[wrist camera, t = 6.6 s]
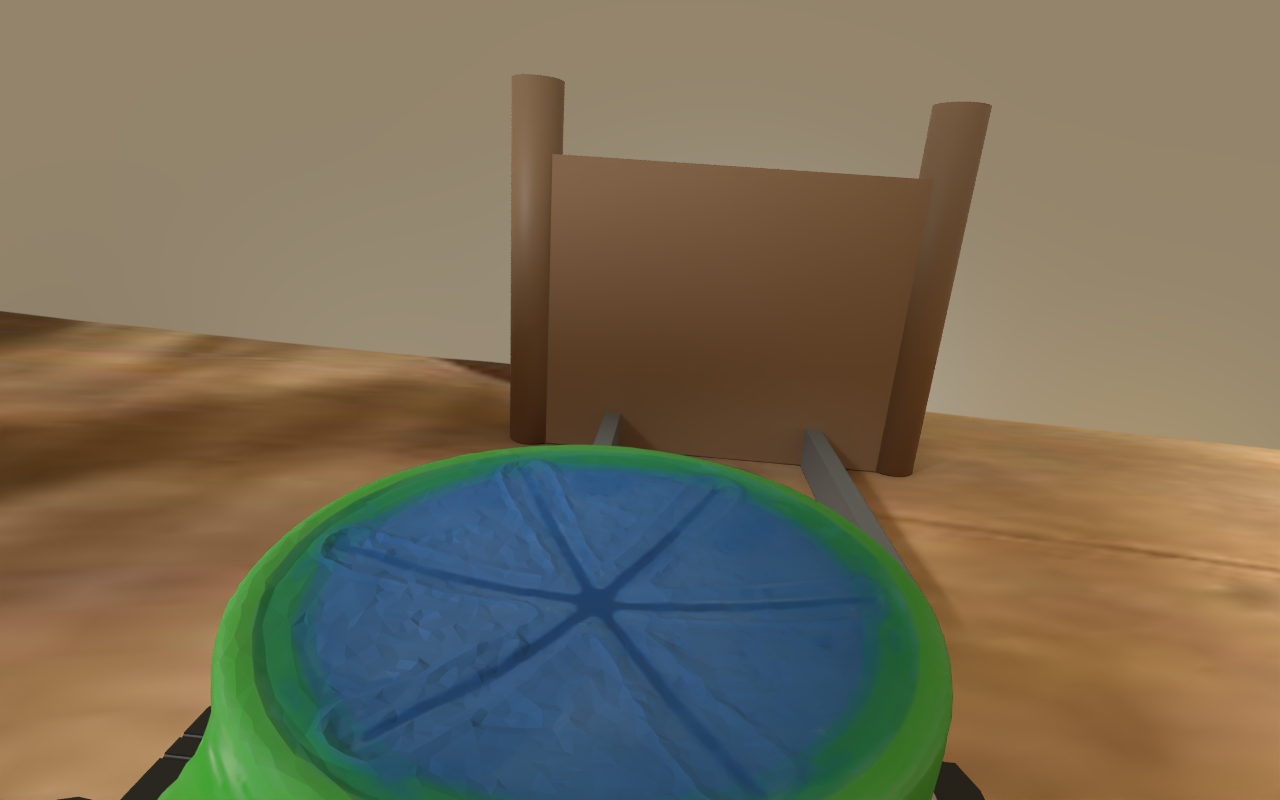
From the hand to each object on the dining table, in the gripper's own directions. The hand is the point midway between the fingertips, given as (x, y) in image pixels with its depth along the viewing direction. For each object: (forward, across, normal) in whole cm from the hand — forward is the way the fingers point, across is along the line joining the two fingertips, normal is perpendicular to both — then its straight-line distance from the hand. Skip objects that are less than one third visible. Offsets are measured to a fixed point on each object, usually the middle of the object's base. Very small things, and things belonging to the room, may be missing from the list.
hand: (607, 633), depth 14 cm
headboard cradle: (+18, +4, -6) cm, 20 cm away
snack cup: (-3, 0, -6) cm, 7 cm away
